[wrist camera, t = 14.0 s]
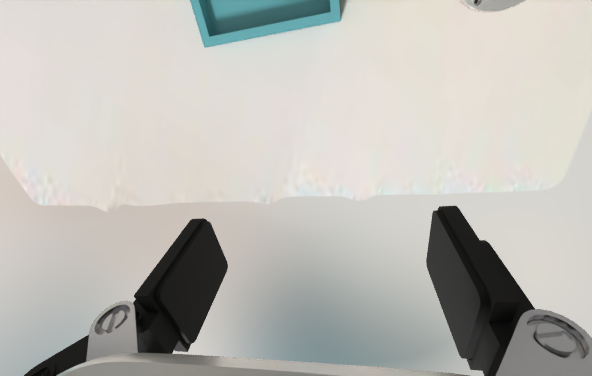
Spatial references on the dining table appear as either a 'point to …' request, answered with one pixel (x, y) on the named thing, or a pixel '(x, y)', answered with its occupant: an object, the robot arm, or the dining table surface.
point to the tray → (259, 17)
